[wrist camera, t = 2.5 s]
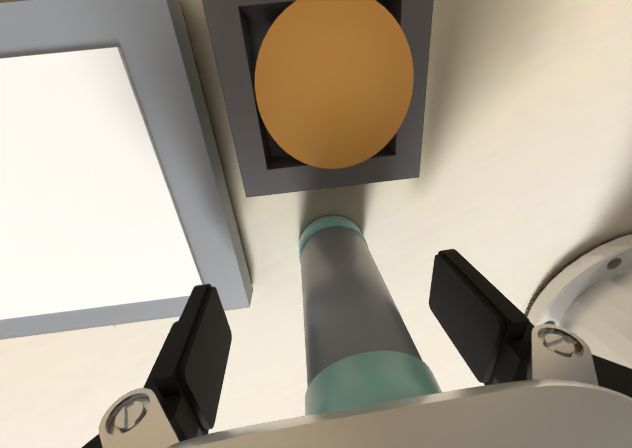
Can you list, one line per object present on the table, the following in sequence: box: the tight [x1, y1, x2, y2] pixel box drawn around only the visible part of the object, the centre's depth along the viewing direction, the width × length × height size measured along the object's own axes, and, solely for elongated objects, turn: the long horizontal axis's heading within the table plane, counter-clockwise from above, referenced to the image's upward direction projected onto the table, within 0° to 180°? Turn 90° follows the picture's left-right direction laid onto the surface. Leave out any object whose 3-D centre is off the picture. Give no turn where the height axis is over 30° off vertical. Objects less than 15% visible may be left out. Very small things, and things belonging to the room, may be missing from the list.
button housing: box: [202, 0, 433, 197], centre depth 11 cm, size 7×7×3 cm
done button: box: [255, 0, 414, 169], centre depth 9 cm, size 4×4×2 cm
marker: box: [299, 215, 442, 416], centre depth 11 cm, size 4×4×11 cm
